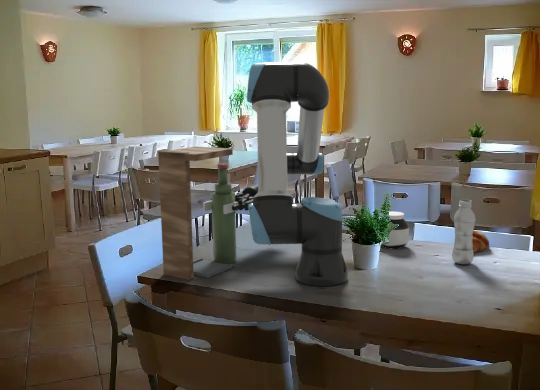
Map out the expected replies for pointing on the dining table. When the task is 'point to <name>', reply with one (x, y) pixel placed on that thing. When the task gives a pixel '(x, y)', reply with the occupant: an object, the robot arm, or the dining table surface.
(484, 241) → the croissant
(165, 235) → the shelf
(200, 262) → the seat pad
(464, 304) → the dining table surface
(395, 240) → the spread jar
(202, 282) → the dining table surface
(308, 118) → the robot arm
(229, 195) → the wine bottle
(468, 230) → the plastic bottle
